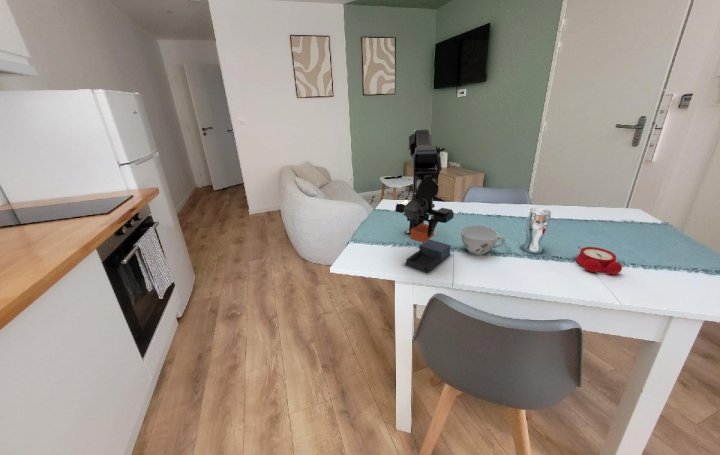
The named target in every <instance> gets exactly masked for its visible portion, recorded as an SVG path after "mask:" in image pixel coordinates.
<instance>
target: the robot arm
mask: <svg viewBox="0 0 720 455" xmlns="http://www.w3.org/2000/svg"><path fill="white" fill-rule="evenodd" d="M432 139H433V138H432V135H431V134H430V131H429V130H428V129H416V130H413V133H412V134H411V135H409V136H408V143H407V144H408V145H407V149H408V151H409V154H410V156H411V158H412V174H413V176H412V196H411V199H410V200H406V199H405V200H402V201H400V202H398V203H396V204H395V213H400V214H403V216H405V217H406V221H407V222H409V227H408V228H409V229H408V230H407V231H406V234H409V235H410V233H411V229H412V228H414V227H416V226H418V225H419V224H421V223H423V224H425V222H427V223H428V225H429V227H428V237H430V236H431V235H432V233H433V231H434V232H435V228H436V227H437V225H438V223H441V224H447V223H448V222H450V221H451V220H452V219H454V215H455V213H454V211H453V209H451V208H445V207H440V208H439V209H434V208H435V203H434V198H435V197H436V196H437V194H438V193H439V186H438V184H437V181H436V179H435V175H440V174H441V173H440V172H441V171H442V159H441V156H440V153H439V152H438V151H437V147H435V146H433V145H432Z"/></svg>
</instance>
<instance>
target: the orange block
mask: <svg viewBox="0 0 720 455" xmlns="http://www.w3.org/2000/svg"><path fill="white" fill-rule="evenodd" d="M428 227H429V224H427V223H424V224H423V223H421V224H419V225H418V226H416V227H414V228H412V229H411V233H410V234H409V236H410V237H409V238H410V240H413V241H416V242H420V243H421V244H422V243H424V242H425V241H427V240H428V239H430V240H431V238H433V237H434V236H435V230H434V231H433V233H432V235H431V236H430V237H428Z"/></svg>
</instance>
